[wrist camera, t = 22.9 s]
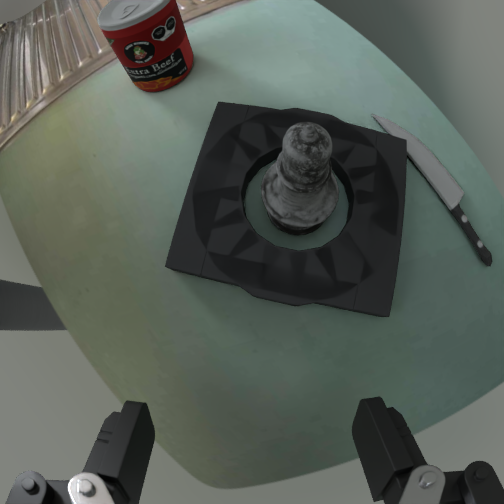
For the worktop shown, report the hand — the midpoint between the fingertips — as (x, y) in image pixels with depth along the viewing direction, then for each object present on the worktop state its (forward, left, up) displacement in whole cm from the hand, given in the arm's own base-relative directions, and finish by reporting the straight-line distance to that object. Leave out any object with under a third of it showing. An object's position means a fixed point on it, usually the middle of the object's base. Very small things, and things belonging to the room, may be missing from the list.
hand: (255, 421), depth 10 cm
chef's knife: (+13, +19, -14) cm, 27 cm away
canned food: (-19, +28, -14) cm, 36 cm away
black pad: (-1, +14, -14) cm, 20 cm away
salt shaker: (0, +13, -14) cm, 19 cm away
